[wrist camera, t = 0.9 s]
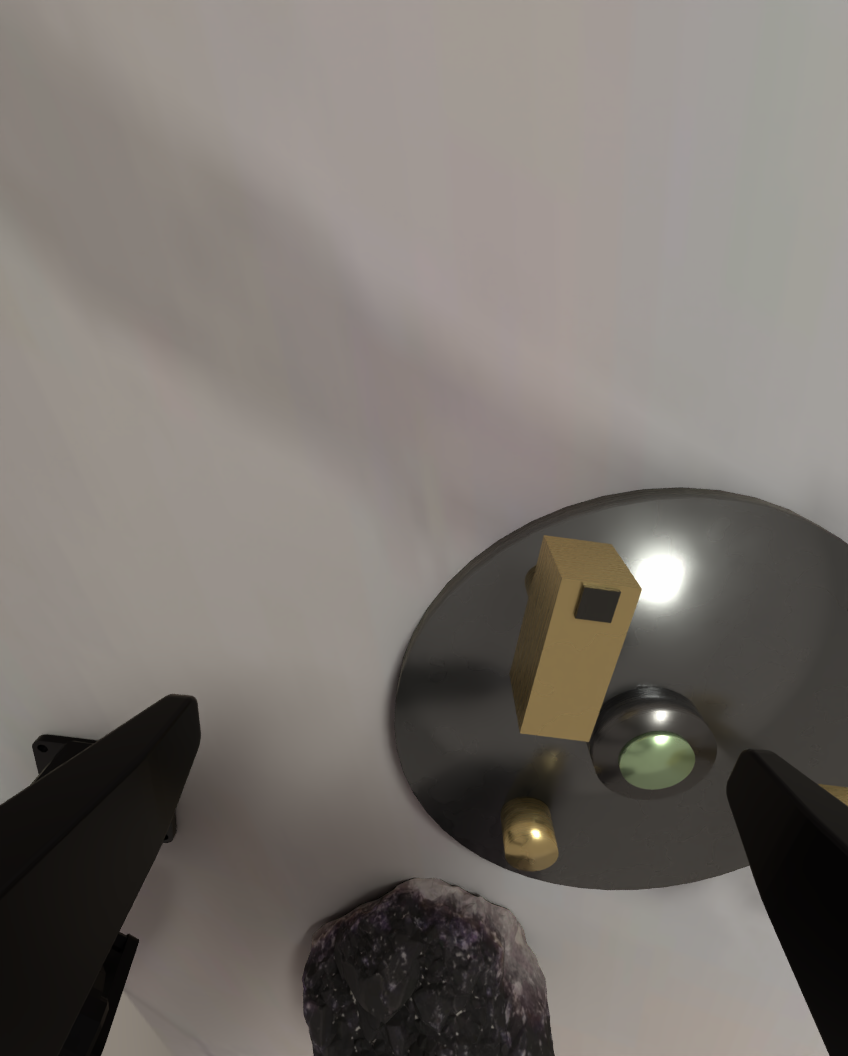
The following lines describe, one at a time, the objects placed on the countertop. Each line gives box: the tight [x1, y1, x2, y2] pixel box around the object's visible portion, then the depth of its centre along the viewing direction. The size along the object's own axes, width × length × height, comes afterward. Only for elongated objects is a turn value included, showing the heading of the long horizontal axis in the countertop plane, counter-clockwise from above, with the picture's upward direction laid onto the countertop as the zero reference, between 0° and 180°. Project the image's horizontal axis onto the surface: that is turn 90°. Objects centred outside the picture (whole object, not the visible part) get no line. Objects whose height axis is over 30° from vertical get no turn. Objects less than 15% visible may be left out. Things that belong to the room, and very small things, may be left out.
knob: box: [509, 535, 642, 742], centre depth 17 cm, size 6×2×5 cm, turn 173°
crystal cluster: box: [302, 878, 555, 1056], centre depth 28 cm, size 13×14×10 cm
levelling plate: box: [394, 488, 848, 890], centre depth 23 cm, size 22×22×3 cm
